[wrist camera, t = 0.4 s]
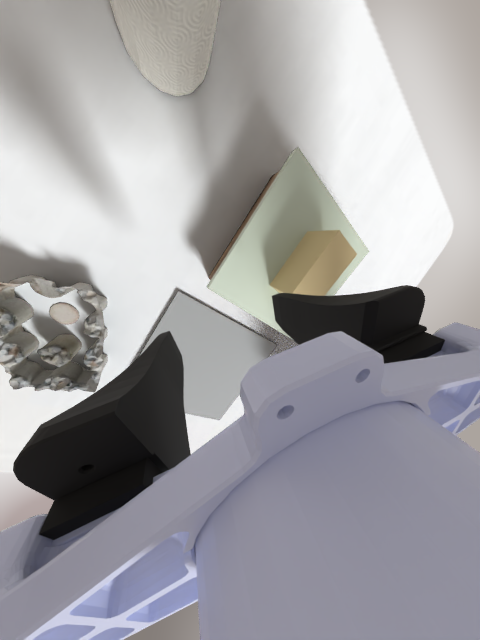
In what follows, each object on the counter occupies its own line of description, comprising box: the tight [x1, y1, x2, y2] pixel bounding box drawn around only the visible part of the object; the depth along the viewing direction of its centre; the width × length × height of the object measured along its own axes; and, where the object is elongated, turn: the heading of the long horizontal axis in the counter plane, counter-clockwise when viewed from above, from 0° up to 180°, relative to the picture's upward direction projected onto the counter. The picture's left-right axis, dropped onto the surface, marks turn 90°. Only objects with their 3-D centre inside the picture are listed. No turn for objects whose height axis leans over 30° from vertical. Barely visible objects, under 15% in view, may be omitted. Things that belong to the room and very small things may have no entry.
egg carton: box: [0, 275, 108, 392], centre depth 16 cm, size 11×8×4 cm
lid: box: [207, 147, 369, 340], centre depth 17 cm, size 13×13×5 cm
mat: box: [139, 291, 277, 420], centre depth 24 cm, size 16×16×1 cm
